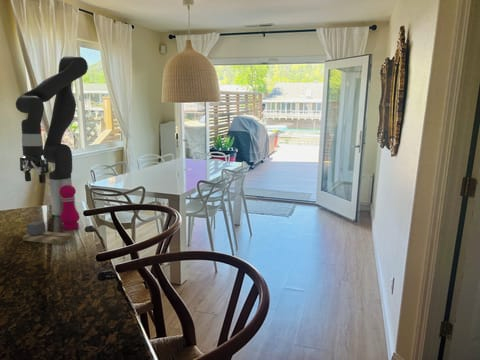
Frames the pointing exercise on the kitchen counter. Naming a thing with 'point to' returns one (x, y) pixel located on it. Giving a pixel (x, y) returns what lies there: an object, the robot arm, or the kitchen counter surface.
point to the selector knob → (35, 228)
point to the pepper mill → (68, 208)
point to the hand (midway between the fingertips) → (35, 182)
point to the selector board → (49, 237)
